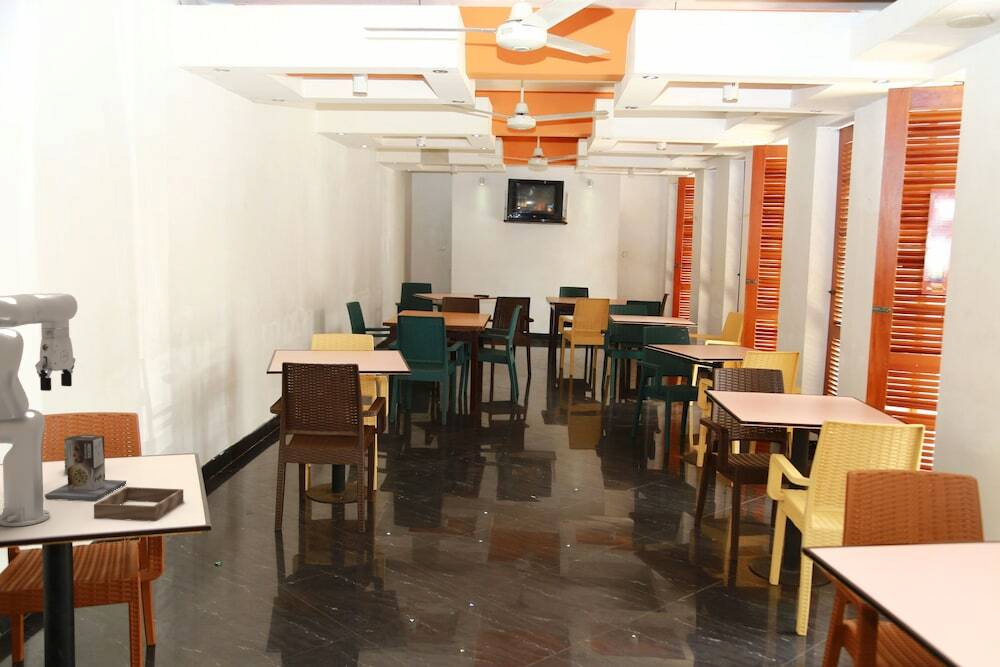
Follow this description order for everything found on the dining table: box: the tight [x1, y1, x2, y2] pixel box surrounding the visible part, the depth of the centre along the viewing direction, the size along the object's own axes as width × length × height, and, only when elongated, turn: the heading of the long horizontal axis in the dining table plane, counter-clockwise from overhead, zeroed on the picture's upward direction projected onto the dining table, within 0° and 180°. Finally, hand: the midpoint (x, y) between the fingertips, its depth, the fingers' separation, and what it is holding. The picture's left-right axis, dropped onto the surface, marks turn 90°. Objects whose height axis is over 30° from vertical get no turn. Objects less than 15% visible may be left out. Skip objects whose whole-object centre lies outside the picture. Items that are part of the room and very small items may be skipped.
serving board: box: [44, 479, 127, 502], centre depth 255 cm, size 18×16×2 cm
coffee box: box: [66, 434, 106, 490], centre depth 254 cm, size 9×6×16 cm
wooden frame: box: [93, 486, 184, 522], centre depth 239 cm, size 18×18×4 cm
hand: (56, 388), depth 250 cm, fingers open, 9 cm apart
